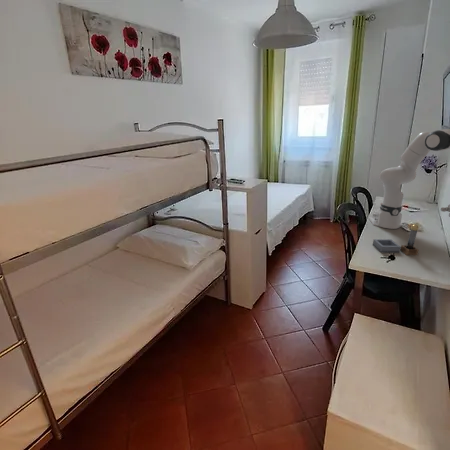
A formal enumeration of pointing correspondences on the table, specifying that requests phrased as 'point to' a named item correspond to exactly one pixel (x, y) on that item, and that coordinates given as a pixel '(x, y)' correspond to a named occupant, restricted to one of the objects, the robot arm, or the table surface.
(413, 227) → the pin
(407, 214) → the table surface
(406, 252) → the collar
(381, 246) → the tray
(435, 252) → the table surface
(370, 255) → the table surface
